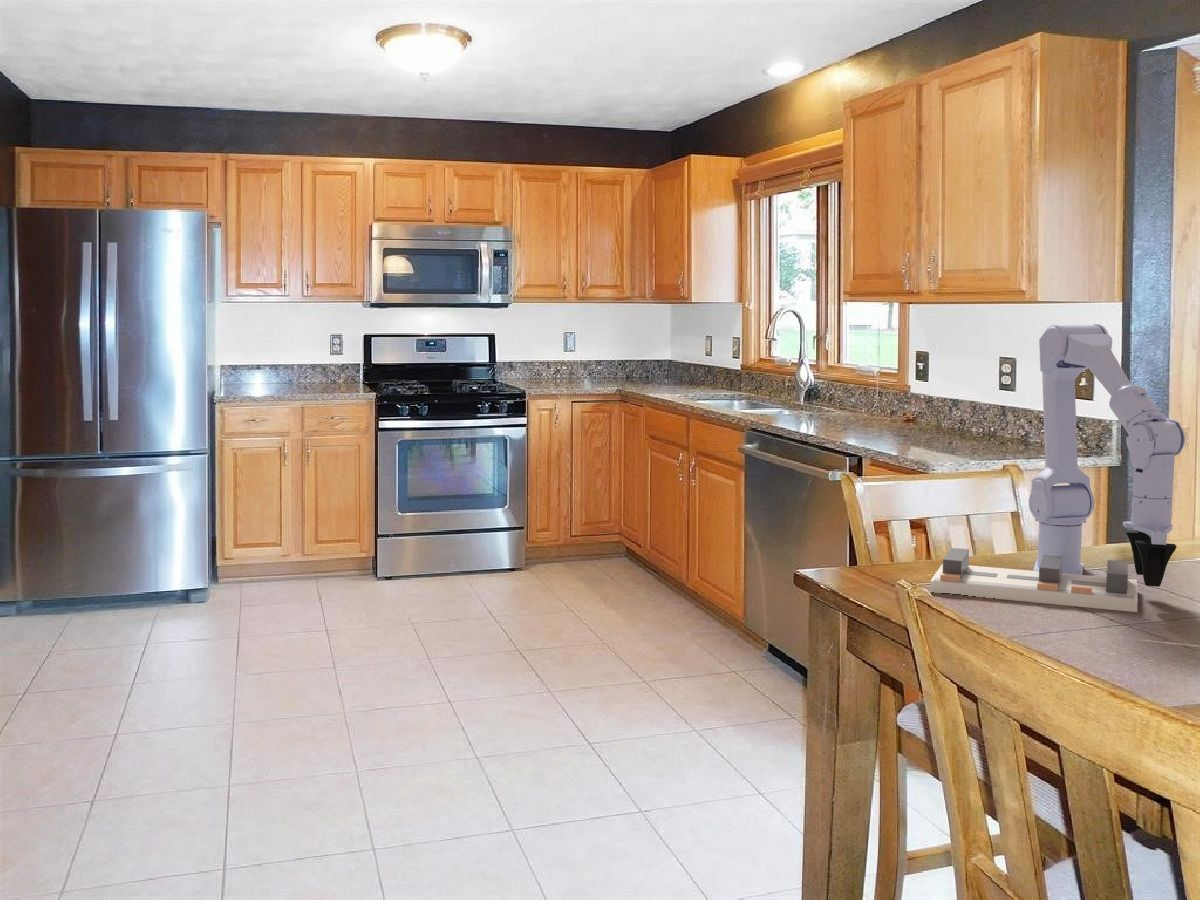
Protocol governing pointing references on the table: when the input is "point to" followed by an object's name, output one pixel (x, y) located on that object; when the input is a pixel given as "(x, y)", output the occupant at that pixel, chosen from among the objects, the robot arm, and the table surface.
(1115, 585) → the slider
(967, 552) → the slider
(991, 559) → the table surface
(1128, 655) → the table surface
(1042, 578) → the slider middle
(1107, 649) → the table surface
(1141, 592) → the table surface
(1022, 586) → the switch panel
